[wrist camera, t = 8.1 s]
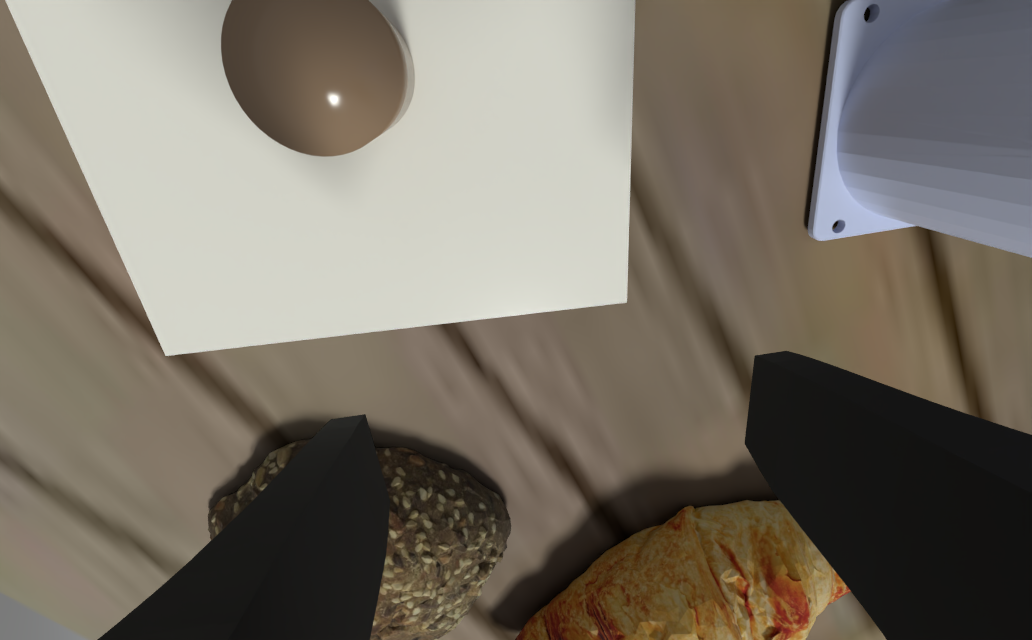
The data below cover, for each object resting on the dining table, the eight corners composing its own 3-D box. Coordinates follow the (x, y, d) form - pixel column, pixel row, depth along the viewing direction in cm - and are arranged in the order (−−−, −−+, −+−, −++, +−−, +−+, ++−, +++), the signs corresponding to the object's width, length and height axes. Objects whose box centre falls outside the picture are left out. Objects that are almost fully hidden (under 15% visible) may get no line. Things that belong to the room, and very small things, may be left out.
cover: (596, -255, 13) (752, -627, 6) (597, 265, 19) (674, 362, 12) (14, -232, 12) (-563, -646, 5) (217, 306, 18) (78, 437, 11)
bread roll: (541, 501, 24) (561, 593, 20) (406, 645, 27) (396, 753, 23) (297, 377, 20) (251, 459, 15) (171, 566, 23) (103, 679, 19)
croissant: (805, 417, 28) (904, 451, 20) (888, 581, 27) (1024, 683, 20) (474, 566, 29) (444, 654, 21) (547, 725, 29) (543, 875, 21)
